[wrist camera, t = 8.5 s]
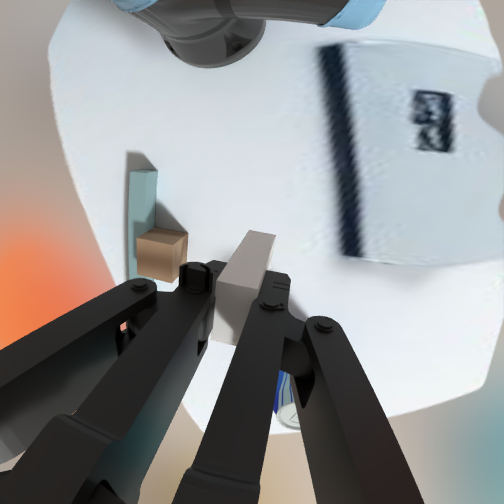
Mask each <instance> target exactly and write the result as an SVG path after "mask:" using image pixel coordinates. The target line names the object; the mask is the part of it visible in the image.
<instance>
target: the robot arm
mask: <svg viewBox="0 0 504 504" xmlns="http://www.w3.org/2000/svg"><path fill="white" fill-rule="evenodd" d="M110 1H112V2H113V3H115V4H116V5H117V6H118V8H119V9H120V10H122V11H124V12H128V13H130V14H132V15H133V16H135V17H137V18H139V19H140V20H142V21H144V22H145V23H147V24H149V25H150V26H152V27H153V28H155V29H156V30H158V31H160V32H161V33H162V36H163V38H164V41H165V43H166V46H167V47H168V49H169V50H170V51H171V53H172V54H173V55H174V56H176V57H177V58H178V59H180V60H182V61H183V62H185V63H187V64H189V65H192V66H195V67H199V68H217V67H223V66H226V65H229V64H232V63H234V62H236V61H238V60H240V59H242V58H243V57H245V56H246V55H247V54H249V53H250V52H251V51H252V50H253V49H254V48H255V47H256V46H257V44H258V43H259V41H260V40H261V38H262V36H263V34H264V31H265V26H266V20H278V21H290V22H300V23H308V24H316V25H317V26H318V27H328V26H330V27H338V28H345V29H351V30H358V29H362V28H364V27H366V26H368V25H370V24H371V23H372V22H373V21H374V20H375V19H376V18H377V16H378V15H379V13H380V12H381V10H382V8H383V6H384V4H385V2H386V0H110ZM275 237H276V235H273V234H268V233H262V232H257V231H252V230H249V231H248V233H247V234H246V236H245V237H244V239H243V240H242V242H241V243H240V245H239V246H238V248H237V249H236V251H235V253H234V254H233V256H232V257H231V259H230V260H229V262H228V263H226V262H221V261H216V260H213V261H211V262H208V263H206V264H204V263H200V262H187V263H183V264H182V265H180V266H179V286H178V287H177V288H176V289H175V290H174V291H173V292H162V291H157V285H156V283H155V282H153V281H152V280H149V279H146V278H134V279H131V280H128V281H126V282H124V283H122V284H120V285H118V286H116V287H114V288H113V289H110V290H109V291H107V292H105V293H103V294H101V295H99V296H97V297H95V298H93V299H92V300H90V301H88V302H86V303H84V304H82V305H80V306H79V307H77V308H75V309H73V310H71V311H69V312H68V313H66V314H64V315H62V316H60V317H58V318H56V319H55V320H53V321H51V322H49V323H47V324H46V325H44V326H42V327H41V328H38V329H37V330H35V331H33V332H31V333H29V334H28V335H26V336H24V337H22V338H21V339H19V340H17V341H15V342H14V343H12V344H10V345H9V346H7V347H5V348H3V349H2V350H0V464H2V463H4V462H7V461H8V460H11V459H13V458H15V457H16V456H18V455H19V454H20V453H22V452H24V451H25V450H26V451H25V453H24V454H23V455H22V457H21V458H20V459H19V460H18V462H17V463H16V465H15V466H14V467H13V468H12V470H8V471H3V472H0V504H137V503H138V500H139V495H140V487H141V484H142V481H143V479H144V477H145V475H146V473H147V471H148V469H149V467H150V464H151V463H152V461H153V459H154V456H155V454H156V452H157V450H158V448H159V446H160V444H161V442H162V440H163V438H164V436H165V434H166V432H167V430H168V427H169V425H170V423H171V421H172V419H173V417H174V415H175V413H176V411H177V409H178V407H179V405H180V403H181V401H182V399H183V396H184V394H185V392H186V390H187V388H188V386H189V384H190V382H191V380H192V378H193V376H194V374H195V372H196V370H197V367H198V365H199V363H200V361H201V359H202V357H203V355H204V353H205V351H206V349H207V345H208V336H209V334H210V333H211V340H214V341H218V342H222V343H226V344H230V345H235V346H237V347H236V349H235V352H234V355H233V358H232V360H231V363H230V366H229V369H228V371H227V374H226V377H225V379H224V382H223V385H222V388H221V390H220V393H219V396H218V398H217V401H216V404H215V406H214V409H213V412H212V414H211V417H210V420H209V422H208V425H207V428H206V430H205V433H204V436H203V438H202V441H201V444H200V446H199V449H198V452H197V454H196V457H195V459H194V462H193V464H192V466H191V467H190V468H188V469H187V470H186V472H185V473H184V475H183V478H182V480H181V482H180V484H179V487H178V489H177V492H176V494H175V497H174V500H173V502H172V504H258V500H259V494H260V476H261V471H262V466H263V461H264V456H265V451H266V446H267V441H268V435H269V430H270V424H271V418H272V413H273V407H274V401H275V395H276V389H277V383H278V377H279V370H281V371H283V372H286V373H288V374H290V384H291V389H292V393H293V397H294V402H295V406H296V411H297V415H298V420H299V424H300V429H301V433H302V438H303V442H304V447H305V451H306V455H307V460H308V464H309V469H310V474H311V478H312V483H313V488H314V492H315V497H316V502H317V504H424V501H423V499H422V497H421V494H420V492H419V489H418V487H417V484H416V482H415V480H414V477H413V475H412V473H411V470H410V468H409V466H408V464H407V461H406V459H405V457H404V454H403V452H402V450H401V448H400V446H399V443H398V441H397V439H396V437H395V435H394V432H393V430H392V428H391V426H390V424H389V422H388V419H387V417H386V415H385V413H384V411H383V409H382V407H381V405H380V403H379V400H378V398H377V396H376V394H375V392H374V390H373V388H372V386H371V384H370V382H369V380H368V378H367V376H366V374H365V372H364V370H363V368H362V366H361V364H360V362H359V360H358V358H357V356H356V354H355V352H354V350H353V348H352V346H351V344H350V342H349V340H348V338H347V336H346V334H345V333H344V331H343V329H342V327H341V326H340V324H339V323H338V322H336V321H335V320H333V319H331V318H328V317H325V316H313V317H310V318H308V319H307V321H306V322H303V321H301V320H299V319H297V318H295V317H294V316H292V315H291V314H290V313H289V311H288V298H289V290H290V283H291V279H290V278H289V276H288V275H287V274H284V273H279V272H274V271H269V270H270V264H271V259H272V253H273V248H274V242H275ZM124 322H126V329H125V330H123V331H121V330H120V325H121V324H123V323H124ZM211 331H212V332H211ZM76 410H77V411H76ZM75 411H76V412H75ZM74 412H75V413H74ZM72 413H74V414H72ZM71 414H72V415H71Z"/></svg>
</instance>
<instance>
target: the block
mask: <svg viewBox="0 0 504 504" xmlns="http://www.w3.org/2000/svg"><path fill="white" fill-rule="evenodd" d="M187 245H188V233H185V232H179V231H174V230H168V229H163V228H158V227H154V228H152V229H150V230H149V231H147V232H145V233H144V234H142V235H140V236H139V237H137V275H141V276H145V277H149V278H153V279H157V280H161V281H165V282H169V283H172V282H173V281H174V280H175V279H176V278H177V277H178V276H179V266H180V265H182V264H183V263H186V262H187Z"/></svg>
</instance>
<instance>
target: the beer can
mask: <svg viewBox="0 0 504 504" xmlns="http://www.w3.org/2000/svg"><path fill="white" fill-rule="evenodd" d="M273 411H274V412H275V414H276V417H277V420H278V422H279V423H280V424H281V425H282V426H284V427H286V428H288V429H291V430H298V431H301V429H300V424H299V420H298V415H297V411H296V406H295V402H294V397H293V393H292V389H291V384H290V374H288V373H286V372H283V371H281V370H279V377H278V383H277V389H276V395H275V401H274V407H273Z"/></svg>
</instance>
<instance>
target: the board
mask: <svg viewBox="0 0 504 504" xmlns="http://www.w3.org/2000/svg"><path fill="white" fill-rule="evenodd" d="M157 174H158V171H154V170H144V169H140V170H135V171H130V181H129V209H128V254H129V280H131V279H134V278H146V279H149V280H152V281H153V282H154V279H153V278H149V277H145V276H141V275H137V237H139V236H140V235H142V234H144V233H145V232H147V231H149V230H150V229H152V228H154V227H155V206H156V188H157Z"/></svg>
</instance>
